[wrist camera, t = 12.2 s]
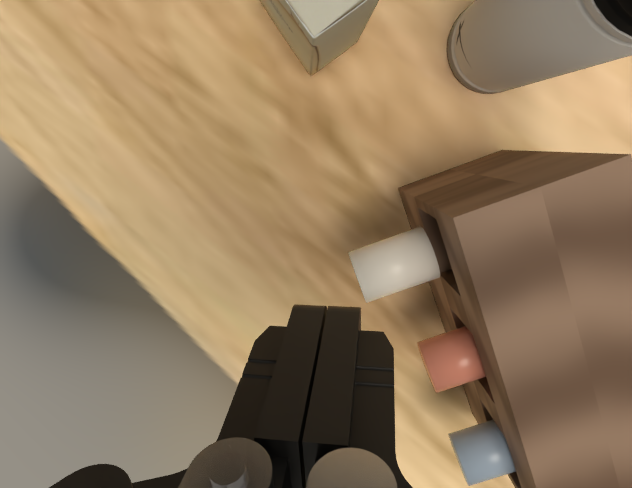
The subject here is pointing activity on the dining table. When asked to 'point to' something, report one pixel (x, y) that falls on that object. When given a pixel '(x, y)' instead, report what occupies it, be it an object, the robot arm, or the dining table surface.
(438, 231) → the box
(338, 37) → the skincare box
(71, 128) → the dining table surface
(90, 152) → the dining table surface
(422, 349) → the red key
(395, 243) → the white key
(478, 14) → the travel mug
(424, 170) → the dining table surface
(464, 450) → the blue key
